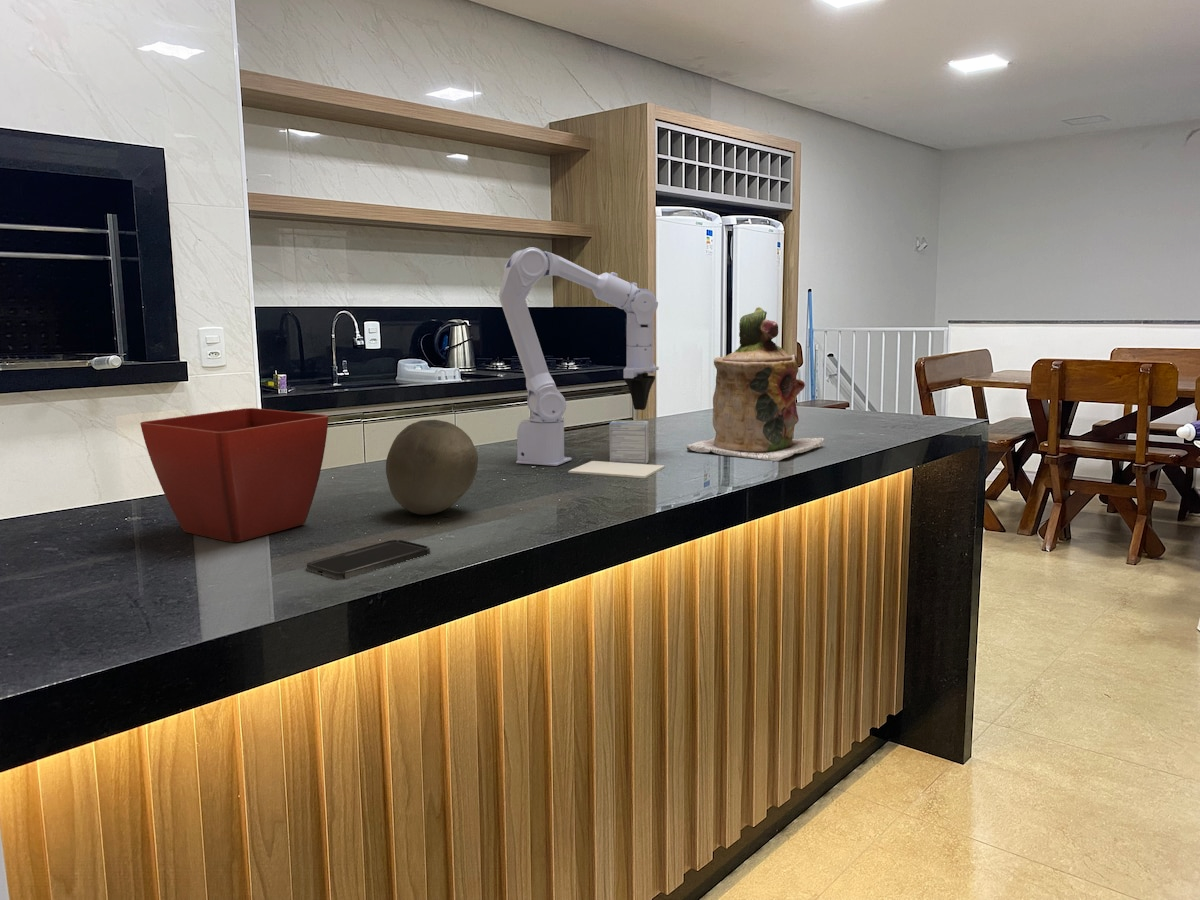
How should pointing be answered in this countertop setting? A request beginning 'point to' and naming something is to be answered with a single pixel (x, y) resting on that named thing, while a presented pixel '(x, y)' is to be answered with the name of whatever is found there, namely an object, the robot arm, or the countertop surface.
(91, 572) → the countertop surface
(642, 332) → the robot arm
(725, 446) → the cookie jar
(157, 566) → the countertop surface
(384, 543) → the phone
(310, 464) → the plant pot
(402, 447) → the cantaloupe
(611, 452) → the medicine box
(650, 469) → the mat
